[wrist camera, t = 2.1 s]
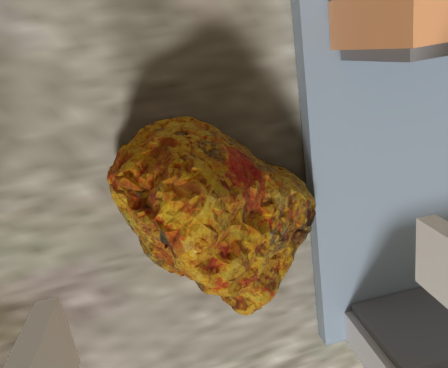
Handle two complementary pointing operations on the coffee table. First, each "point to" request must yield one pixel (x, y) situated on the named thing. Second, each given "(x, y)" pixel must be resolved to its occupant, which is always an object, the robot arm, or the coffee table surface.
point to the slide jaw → (389, 29)
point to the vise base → (372, 193)
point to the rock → (211, 209)
